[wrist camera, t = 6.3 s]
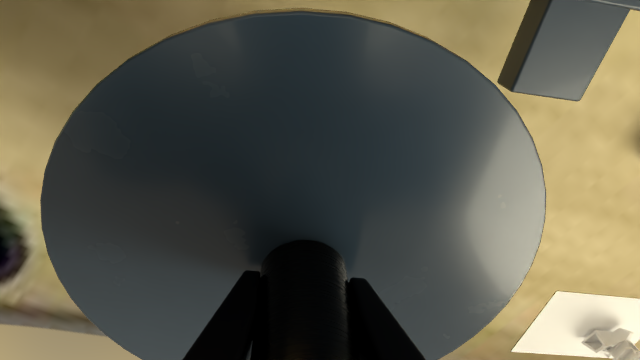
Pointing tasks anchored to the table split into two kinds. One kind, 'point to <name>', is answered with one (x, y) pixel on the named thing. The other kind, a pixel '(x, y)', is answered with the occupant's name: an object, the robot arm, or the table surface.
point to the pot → (562, 46)
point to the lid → (293, 187)
